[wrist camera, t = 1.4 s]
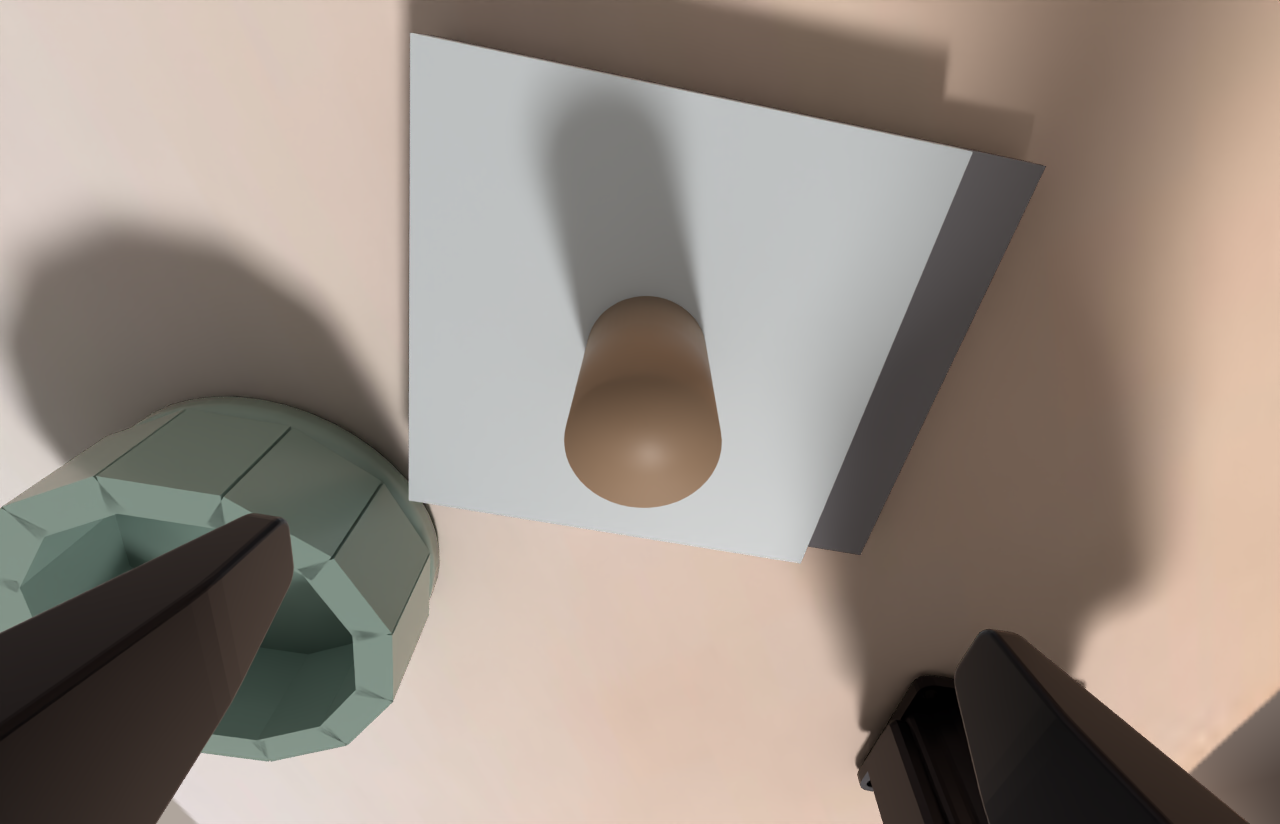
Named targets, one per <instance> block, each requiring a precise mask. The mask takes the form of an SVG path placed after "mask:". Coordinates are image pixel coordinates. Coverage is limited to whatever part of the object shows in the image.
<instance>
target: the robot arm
mask: <svg viewBox="0 0 1280 824" xmlns="http://www.w3.org/2000/svg"><path fill="white" fill-rule="evenodd" d="M293 572H294V562H293V554H292V546H291V537H290V529H289V525H288V523H287V521H286V520H285V519H284V518H282V517H278V516H271V515H265V514H259V513H250V514H246V515H244V516H241V517H239V518H237V519H235V520H233V521H231V522H229V523H227V524H225V525H223V526H221V527H219V528H217V529H214V530H212V531H210V532H208V533H206V534H204V535H202V536H200V537H198V538H196V539H194V540H192V541H190V542H187V543H185V544H183V545H181V546H179V547H177V548H175V549H173V550H171V551H169V552H167V553H165V554H163V555H160V556H158V557H156V558H154V559H152V560H150V561H148V562H146V563H144V564H142V565H140V566H138V567H136V568H134V569H131V570H129V571H127V572H125V573H123V574H121V575H119V576H117V577H115V578H113V579H111V580H109V581H107V582H104V583H102V584H100V585H98V586H96V587H94V588H92V589H90V590H88V591H86V592H84V593H82V594H80V595H77V596H75V597H73V598H71V599H69V600H67V601H65V602H63V603H61V604H59V605H57V606H55V607H53V608H50V609H48V610H46V611H44V612H42V613H40V614H38V615H36V616H34V617H32V618H30V619H28V620H26V621H23V622H21V623H19V624H17V625H15V626H13V627H11V628H9V629H7V630H5V631H3V632H1V633H0V824H156V823H157V821H158V820H159V818H160V817H161V815H162V814H163V812H164V810H165V809H166V807H167V806H168V804H169V802H170V801H171V799H172V798H173V796H174V795H175V793H176V791H177V790H178V788H179V787H180V785H181V783H182V782H183V780H184V779H185V777H186V775H187V774H188V772H189V771H190V769H191V768H192V766H193V764H194V763H195V761H196V760H197V758H198V756H199V755H200V753H201V752H202V750H203V748H204V747H205V745H206V744H207V742H208V740H209V739H210V737H211V736H212V734H213V732H214V731H215V729H216V728H217V726H218V725H219V723H220V721H221V720H222V718H223V716H224V715H225V713H226V711H227V709H228V708H229V706H230V704H231V703H232V701H233V699H234V697H235V695H236V693H237V691H238V689H239V688H240V686H241V684H242V682H243V680H244V678H245V676H246V674H247V672H248V670H249V668H250V666H251V664H252V662H253V659H254V657H255V655H256V653H257V651H258V649H259V647H260V645H261V643H262V641H263V639H264V637H265V635H266V633H267V631H268V629H269V627H270V625H271V623H272V621H273V619H274V617H275V615H276V613H277V611H278V609H279V607H280V605H281V603H282V601H283V599H284V597H285V594H286V592H287V590H288V588H289V586H290V584H291V581H292V577H293ZM857 776H858V779H859V783H860V786H861V788H863V789H864V790H868V791H874V794H875V798H876V801H877V804H878V808H879V811H880V814H881V818H882V821H883V824H1250V823H1248V822H1247V821H1246V820H1245V819H1243V818H1242V817H1241V816H1240V815H1239V814H1237V813H1236V812H1235V811H1234V810H1232V809H1231V808H1230V807H1229V806H1228V805H1226V804H1225V803H1224V802H1222V801H1221V800H1220V799H1219V798H1218V797H1217V796H1215V795H1214V794H1213V793H1212V792H1210V791H1209V790H1208V789H1207V788H1206V787H1204V786H1203V785H1202V784H1201V783H1199V782H1198V781H1197V780H1196V779H1195V778H1193V777H1192V776H1191V775H1190V774H1188V773H1187V772H1186V771H1185V770H1184V769H1182V768H1181V767H1180V766H1179V765H1178V764H1176V763H1175V762H1174V761H1173V760H1171V759H1170V758H1169V757H1168V756H1167V755H1165V754H1164V753H1163V752H1162V751H1160V750H1159V749H1158V748H1157V747H1156V746H1154V745H1153V744H1152V743H1151V742H1149V741H1148V740H1147V739H1146V738H1145V737H1143V736H1142V735H1141V734H1140V733H1138V732H1137V731H1136V730H1135V729H1134V728H1132V727H1131V726H1130V725H1129V724H1127V723H1126V722H1125V721H1124V720H1123V719H1121V718H1120V717H1119V716H1118V715H1116V714H1115V713H1114V712H1113V711H1112V710H1110V709H1109V708H1108V707H1107V706H1106V705H1104V704H1103V703H1102V702H1101V701H1099V700H1098V699H1097V698H1096V697H1095V696H1093V695H1092V694H1091V693H1090V692H1088V691H1087V690H1086V689H1085V688H1084V687H1082V686H1081V685H1080V684H1079V683H1077V682H1076V681H1075V680H1074V679H1073V678H1071V677H1070V676H1069V675H1068V674H1066V673H1065V672H1064V671H1063V670H1062V669H1060V668H1059V667H1058V666H1057V665H1055V664H1054V663H1053V662H1052V661H1051V660H1049V659H1048V658H1047V657H1046V656H1045V655H1043V654H1042V653H1041V652H1040V651H1038V650H1037V649H1036V648H1035V647H1034V646H1032V645H1031V644H1030V643H1029V642H1027V641H1026V640H1025V639H1024V638H1022V637H1021V636H1020V635H1018V634H1015V633H1012V632H1006V631H1000V630H994V629H985V630H983V631H982V632H980V633H979V634H978V635H977V637H976V638H975V640H974V641H973V643H972V644H971V646H970V648H969V649H968V651H967V652H966V654H965V655H964V657H963V658H962V660H961V661H960V663H959V664H958V666H957V668H956V671H955V677H954V679H952V678H945V677H939V676H931V675H926V676H922V677H919V678H918V679H916V680H915V681H914V682H913V683H912V685H911V686H910V688H909V690H908V691H907V693H906V695H905V696H904V698H903V699H902V701H901V703H900V704H899V706H898V708H897V709H896V711H895V712H894V714H893V716H892V717H891V719H890V721H889V722H888V724H887V725H886V727H885V729H884V730H883V732H882V734H881V735H880V737H879V738H878V740H877V742H876V743H875V745H874V747H873V748H872V750H871V751H870V753H869V755H868V756H867V758H866V760H865V761H864V763H863V764H862V766H861V768H860V769H859V771H858V774H857Z"/></svg>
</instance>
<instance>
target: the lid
mask: <svg viewBox="0 0 1280 824" xmlns="http://www.w3.org/2000/svg"><path fill="white" fill-rule="evenodd" d="M972 153H973V152H972V151H968V150H964V149H961V148H957V147H953V146H948V145H943V144H939V143H934V142H929V141H925V140H920V139H915V138H910V137H906V136H901V135H896V134H891V133H887V132H882V131H877V130H873V129H868V128H863V127H858V126H854V125H849V124H844V123H840V122H835V121H830V120H825V119H821V118H816V117H811V116H807V115H802V114H797V113H792V112H788V111H783V110H778V109H774V108H769V107H764V106H759V105H755V104H750V103H745V102H740V101H736V100H731V99H726V98H722V97H717V96H712V95H707V94H703V93H698V92H693V91H689V90H684V89H679V88H674V87H670V86H665V85H660V84H656V83H651V82H646V81H641V80H637V79H632V78H627V77H623V76H618V75H613V74H608V73H604V72H599V71H594V70H589V69H585V68H580V67H575V66H571V65H566V64H561V63H556V62H552V61H547V60H542V59H538V58H533V57H528V56H523V55H519V54H514V53H509V52H505V51H500V50H495V49H490V48H486V47H481V46H476V45H472V44H467V43H462V42H457V41H453V40H448V39H443V38H438V37H434V36H429V35H424V34H417V33H410V241H409V501H415V502H422V503H428V504H434V505H440V506H447V507H453V508H459V509H465V510H471V511H478V512H484V513H490V514H496V515H503V516H509V517H515V518H521V519H527V520H534V521H540V522H546V523H552V524H559V525H565V526H571V527H577V528H583V529H590V530H596V531H602V532H608V533H615V534H621V535H627V536H633V537H639V538H646V539H652V540H658V541H664V542H671V543H677V544H683V545H689V546H695V547H702V548H708V549H714V550H720V551H727V552H733V553H739V554H745V555H751V556H758V557H764V558H770V559H776V560H782V561H789V562H795V563H801V561H802V559H803V557H804V554H805V552H806V549H807V547H808V545H809V542H810V540H811V537H812V535H813V533H814V530H815V528H816V526H817V523H818V521H819V518H820V516H821V514H822V511H823V509H824V506H825V504H826V502H827V499H828V497H829V494H830V492H831V490H832V487H833V485H834V483H835V480H836V478H837V475H838V473H839V471H840V468H841V466H842V463H843V461H844V459H845V456H846V454H847V451H848V449H849V447H850V444H851V442H852V440H853V437H854V435H855V432H856V430H857V428H858V425H859V423H860V420H861V418H862V416H863V413H864V411H865V408H866V406H867V404H868V401H869V399H870V397H871V394H872V392H873V389H874V387H875V385H876V382H877V380H878V377H879V375H880V373H881V370H882V368H883V365H884V363H885V361H886V358H887V356H888V354H889V351H890V349H891V346H892V344H893V342H894V339H895V337H896V334H897V332H898V330H899V327H900V325H901V323H902V320H903V318H904V315H905V313H906V311H907V308H908V306H909V303H910V301H911V299H912V296H913V294H914V291H915V289H916V287H917V284H918V282H919V280H920V277H921V275H922V272H923V270H924V268H925V265H926V263H927V260H928V258H929V256H930V253H931V251H932V248H933V246H934V244H935V241H936V239H937V237H938V234H939V232H940V229H941V227H942V225H943V222H944V220H945V217H946V215H947V213H948V210H949V208H950V205H951V203H952V201H953V198H954V196H955V194H956V191H957V189H958V186H959V184H960V182H961V179H962V177H963V174H964V172H965V170H966V167H967V165H968V162H969V160H970V158H971V155H972Z"/></svg>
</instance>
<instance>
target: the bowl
mask: <svg viewBox="0 0 1280 824" xmlns="http://www.w3.org/2000/svg"><path fill="white" fill-rule="evenodd" d="M250 513H259V514H265V515H271V516H278V517H282V518H284V519H285V520H286V521H287V523H288V525H289V529H290V537H291V546H292V554H293V562H294V572H293V577H292V581H291V584H290V586H289V588H288V590H287V592H286V594H285V597H284V599H283V601H282V603H281V605H280V607H279V609H278V611H277V613H276V615H275V617H274V619H273V621H272V623H271V625H270V627H269V629H268V631H267V633H266V635H265V637H264V639H263V641H262V643H261V645H260V647H259V649H258V651H257V653H256V655H255V657H254V659H253V662H252V664H251V666H250V668H249V670H248V672H247V674H246V676H245V678H244V680H243V682H242V684H241V686H240V688H239V689H238V691H237V693H236V695H235V697H234V699H233V701H232V703H231V704H230V706H229V708H228V709H227V711H226V713H225V715H224V716H223V718H222V720H221V721H220V723H219V725H218V726H217V728H216V729H215V731H214V732H213V734H212V736H211V737H210V739H209V740H208V742H207V744H206V745H205V747H204V748H203V750H202V752H201V753H207V754H215V755H222V756H230V757H238V758H245V759H253V760H261V761H268V762H269V760H270V761H276V760H281V759H285V758H290V757H295V756H300V755H304V754H309V753H314V752H319V751H323V750H328V749H333V748H338V747H342V746H346V745H348V744H349V743H350V742H351V741H352V740H354V739H355V738H356V737H357V736H358V735H359V734H360V733H361V732H362V731H363V730H364V729H365V728H366V727H367V726H368V725H369V724H370V723H371V722H372V721H373V720H374V719H375V718H377V717H378V716H379V715H380V714H381V713H382V712H383V711H384V710H385V709H386V708H387V707H388V706H389V705H390V704H391V703H392V702H393V700H394V698H395V695H396V693H397V690H398V688H399V686H400V683H401V681H402V678H403V676H404V674H405V671H406V669H407V666H408V664H409V662H410V659H411V657H412V654H413V652H414V650H415V647H416V645H417V642H418V640H419V638H420V635H421V633H422V630H423V628H424V626H425V623H426V621H427V618H428V616H429V600H430V597H431V595H432V593H433V590H434V587H435V584H436V581H437V578H438V571H439V563H440V560H439V545H438V541H437V536H436V532H435V529H434V526H433V524H432V521H431V519H430V516H429V514H428V512H427V510H426V508H425V506H424V505H423V503H422V502H415V501H409V482H408V481H407V480H406V479H405V478H404V477H403V476H402V475H401V473H400V472H399V471H398V470H397V469H396V468H395V467H394V466H393V465H392V464H391V463H390V462H389V461H388V460H386V459H385V458H384V457H383V456H382V455H381V454H379V453H378V452H377V451H376V450H375V449H373V448H372V447H371V446H369V445H368V444H366V443H365V442H363V441H362V440H361V439H359V438H358V437H356V436H355V435H353V434H351V433H350V432H348V431H346V430H344V429H342V428H341V427H339V426H337V425H335V424H334V423H332V422H329V421H327V420H325V419H323V418H320V417H318V416H316V415H313V414H311V413H309V412H306V411H303V410H300V409H297V408H294V407H291V406H288V405H284V404H279V403H275V402H271V401H266V400H262V399H253V398H245V397H206V398H198V399H191V400H187V401H183V402H179V403H176V404H172V405H169V406H167V407H165V408H162V409H160V410H158V411H156V412H153V413H152V414H150V415H149V416H147V417H146V418H144V419H143V420H141V421H140V422H138V423H137V424H136V425H134V426H133V427H131V428H129V429H126V430H123V431H120V432H117V433H115V434H112V435H109V436H106V437H104V438H103V439H102V440H100V441H99V442H97V443H96V444H94V445H93V446H91V447H90V448H88V449H87V450H85V451H84V452H82V453H81V454H79V455H78V456H76V457H75V458H73V459H72V460H70V461H69V462H67V463H66V464H64V465H63V466H61V467H60V468H59V469H57V470H56V471H54V472H53V473H51V474H50V475H48V476H47V477H45V478H44V479H42V480H41V481H39V482H38V483H36V484H35V485H33V486H32V487H30V488H29V489H27V490H26V491H24V492H23V493H21V494H20V495H18V496H17V497H16V498H14V499H13V500H11V501H10V502H8V503H7V504H5V505H4V506H2V507H1V508H0V633H1V632H3V631H5V630H7V629H9V628H11V627H13V626H15V625H17V624H19V623H21V622H23V621H26V620H28V619H30V618H32V617H34V616H36V615H38V614H40V613H42V612H44V611H46V610H48V609H50V608H53V607H55V606H57V605H59V604H61V603H63V602H65V601H67V600H69V599H71V598H73V597H75V596H77V595H80V594H82V593H84V592H86V591H88V590H90V589H92V588H94V587H96V586H98V585H100V584H102V583H104V582H107V581H109V580H111V579H113V578H115V577H117V576H119V575H121V574H123V573H125V572H127V571H129V570H131V569H134V568H136V567H138V566H140V565H142V564H144V563H146V562H148V561H150V560H152V559H154V558H156V557H158V556H160V555H163V554H165V553H167V552H169V551H171V550H173V549H175V548H177V547H179V546H181V545H183V544H185V543H187V542H190V541H192V540H194V539H196V538H198V537H200V536H202V535H204V534H206V533H208V532H210V531H212V530H214V529H217V528H219V527H221V526H223V525H225V524H227V523H229V522H231V521H233V520H235V519H237V518H239V517H241V516H244V515H246V514H250Z"/></svg>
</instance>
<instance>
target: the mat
mask: <svg viewBox="0 0 1280 824" xmlns="http://www.w3.org/2000/svg"><path fill="white" fill-rule="evenodd" d="M429 36H432V35H429ZM434 37H438V36H434ZM438 38H442V37H438ZM443 39H447V38H443ZM448 40H452V39H448ZM453 41H456V40H453ZM457 42H461V41H457ZM462 43H466V42H462ZM467 44H471V43H467ZM472 45H475V44H472ZM476 46H480V45H476ZM481 47H485V46H481ZM486 48H489V47H486ZM490 49H494V48H490ZM495 50H499V49H495ZM500 51H504V50H500ZM505 52H508V51H505ZM509 53H513V52H509ZM514 54H518V53H514ZM519 55H522V54H519ZM523 56H527V55H523ZM528 57H532V56H528ZM533 58H537V57H533ZM538 59H541V58H538ZM542 60H546V59H542ZM547 61H551V60H547ZM552 62H555V61H552ZM556 63H560V62H556ZM561 64H565V63H561ZM566 65H570V64H566ZM571 66H574V65H571ZM575 67H579V66H575ZM580 68H584V67H580ZM585 69H588V68H585ZM589 70H593V69H589ZM594 71H598V70H594ZM599 72H603V71H599ZM604 73H607V72H604ZM608 74H612V73H608ZM613 75H617V74H613ZM618 76H622V75H618ZM623 77H626V76H623ZM627 78H631V77H627ZM632 79H636V78H632ZM637 80H640V79H637ZM641 81H645V80H641ZM646 82H650V81H646ZM651 83H655V82H651ZM656 84H659V83H656ZM660 85H664V84H660ZM665 86H669V85H665ZM670 87H673V86H670ZM674 88H678V87H674ZM679 89H683V88H679ZM684 90H688V89H684ZM689 91H692V90H689ZM693 92H697V91H693ZM698 93H702V92H698ZM703 94H706V93H703ZM707 95H711V94H707ZM712 96H716V95H712ZM717 97H721V96H717ZM722 98H725V97H722ZM726 99H730V98H726ZM731 100H735V99H731ZM736 101H739V100H736ZM740 102H744V101H740ZM745 103H749V102H745ZM750 104H754V103H750ZM755 105H758V104H755ZM759 106H763V105H759ZM764 107H768V106H764ZM769 108H772V107H769ZM774 109H777V108H774ZM778 110H782V109H778ZM783 111H787V110H783ZM788 112H791V111H788ZM792 113H796V112H792ZM797 114H801V113H797ZM802 115H805V114H802ZM807 116H810V115H807ZM811 117H815V116H811ZM816 118H820V117H816ZM821 119H824V118H821ZM825 120H829V119H825ZM830 121H834V120H830ZM835 122H838V121H835ZM840 123H843V122H840ZM844 124H848V123H844ZM849 125H853V124H849ZM854 126H857V125H854ZM858 127H862V126H858ZM863 128H867V127H863ZM868 129H871V128H868ZM873 130H876V129H873ZM877 131H881V130H877ZM882 132H886V131H882ZM887 133H890V132H887ZM891 134H895V133H891ZM896 135H900V134H896ZM901 136H905V135H901ZM906 137H909V136H906ZM910 138H914V137H910ZM915 139H919V138H915ZM920 140H923V139H920ZM925 141H928V140H925ZM929 142H933V141H929ZM934 143H938V142H934ZM939 144H942V143H939ZM943 145H947V144H943ZM948 146H952V145H948ZM953 147H956V146H953ZM957 148H961V147H957ZM961 149H964V150H968V151H972V152H973V153H972V155H971V158H970V160H969V162H968V165H967V167H966V170H965V172H964V174H963V177H962V179H961V182H960V184H959V186H958V189H957V191H956V194H955V196H954V198H953V201H952V203H951V205H950V208H949V210H948V213H947V215H946V217H945V220H944V222H943V225H942V227H941V229H940V232H939V234H938V237H937V239H936V241H935V244H934V246H933V248H932V251H931V253H930V256H929V258H928V260H927V263H926V265H925V268H924V270H923V272H922V275H921V277H920V280H919V282H918V284H917V287H916V289H915V291H914V294H913V296H912V299H911V301H910V303H909V306H908V308H907V311H906V313H905V315H904V318H903V320H902V323H901V325H900V327H899V330H898V332H897V334H896V337H895V339H894V342H893V344H892V346H891V349H890V351H889V354H888V356H887V358H886V361H885V363H884V365H883V368H882V370H881V373H880V375H879V377H878V380H877V382H876V385H875V387H874V389H873V392H872V394H871V397H870V399H869V401H868V404H867V406H866V408H865V411H864V413H863V416H862V418H861V420H860V423H859V425H858V428H857V430H856V432H855V435H854V437H853V440H852V442H851V444H850V447H849V449H848V451H847V454H846V456H845V459H844V461H843V463H842V466H841V468H840V471H839V473H838V475H837V478H836V480H835V483H834V485H833V487H832V490H831V492H830V494H829V497H828V499H827V502H826V504H825V506H824V509H823V511H822V514H821V516H820V518H819V521H818V523H817V526H816V528H815V530H814V533H813V535H812V537H811V540H810V542H809V545H808V547H815V548H821V549H827V550H833V551H839V552H845V553H851V554H858V555H861V553H862V550H863V548H864V546H865V544H866V542H867V540H868V538H869V536H870V534H871V532H872V529H873V527H874V525H875V523H876V521H877V519H878V517H879V515H880V513H881V511H882V509H883V506H884V504H885V502H886V500H887V498H888V496H889V494H890V492H891V490H892V488H893V486H894V483H895V481H896V479H897V477H898V475H899V473H900V471H901V469H902V467H903V465H904V462H905V460H906V458H907V456H908V454H909V452H910V450H911V448H912V446H913V444H914V442H915V439H916V437H917V435H918V433H919V431H920V429H921V427H922V425H923V423H924V421H925V419H926V416H927V414H928V412H929V410H930V408H931V406H932V404H933V402H934V400H935V398H936V395H937V393H938V391H939V389H940V387H941V385H942V383H943V381H944V379H945V377H946V375H947V372H948V370H949V368H950V366H951V364H952V362H953V360H954V358H955V356H956V354H957V352H958V349H959V347H960V345H961V343H962V341H963V339H964V337H965V335H966V333H967V331H968V328H969V326H970V324H971V322H972V320H973V318H974V316H975V314H976V312H977V310H978V308H979V305H980V303H981V301H982V299H983V297H984V295H985V293H986V291H987V289H988V287H989V285H990V282H991V280H992V278H993V276H994V274H995V272H996V270H997V268H998V266H999V264H1000V262H1001V259H1002V257H1003V255H1004V253H1005V251H1006V249H1007V247H1008V245H1009V243H1010V241H1011V238H1012V236H1013V234H1014V232H1015V230H1016V228H1017V226H1018V224H1019V222H1020V220H1021V218H1022V215H1023V213H1024V211H1025V209H1026V207H1027V205H1028V203H1029V201H1030V199H1031V197H1032V195H1033V192H1034V190H1035V188H1036V186H1037V184H1038V182H1039V180H1040V178H1041V176H1042V174H1043V171H1044V169H1045V167H1046V166H1043V165H1039V164H1036V163H1032V162H1027V161H1022V160H1018V159H1013V158H1008V157H1004V156H999V155H994V154H989V153H985V152H980V151H975V150H971V149H966V148H961Z"/></svg>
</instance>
